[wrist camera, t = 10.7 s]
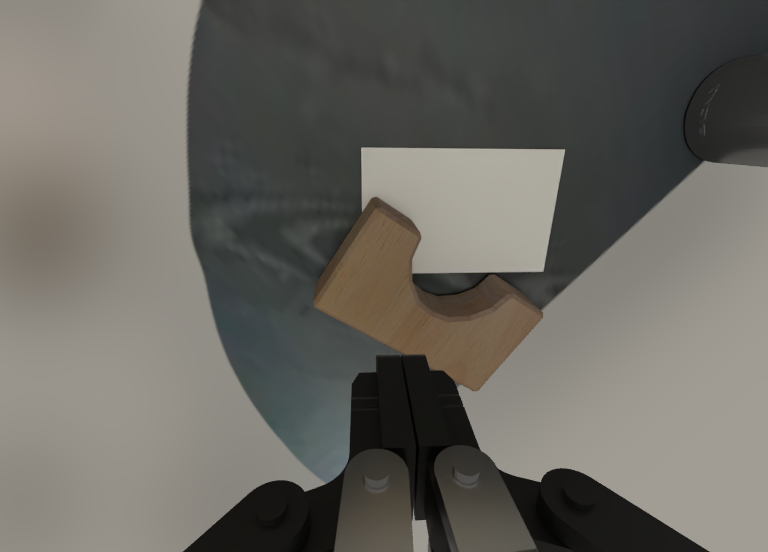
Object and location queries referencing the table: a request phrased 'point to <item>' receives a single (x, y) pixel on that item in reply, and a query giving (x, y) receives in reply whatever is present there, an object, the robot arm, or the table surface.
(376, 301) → the decorative block
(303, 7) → the table surface
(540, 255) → the mat
